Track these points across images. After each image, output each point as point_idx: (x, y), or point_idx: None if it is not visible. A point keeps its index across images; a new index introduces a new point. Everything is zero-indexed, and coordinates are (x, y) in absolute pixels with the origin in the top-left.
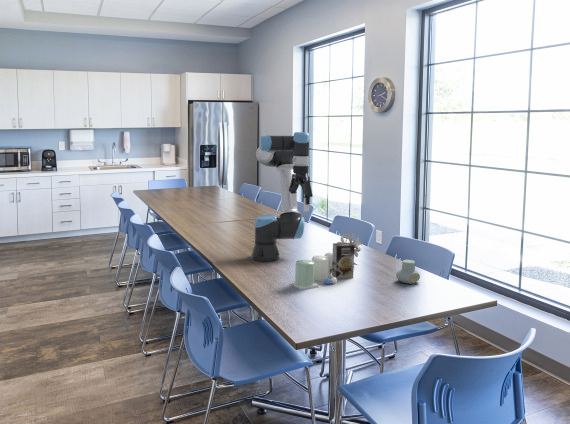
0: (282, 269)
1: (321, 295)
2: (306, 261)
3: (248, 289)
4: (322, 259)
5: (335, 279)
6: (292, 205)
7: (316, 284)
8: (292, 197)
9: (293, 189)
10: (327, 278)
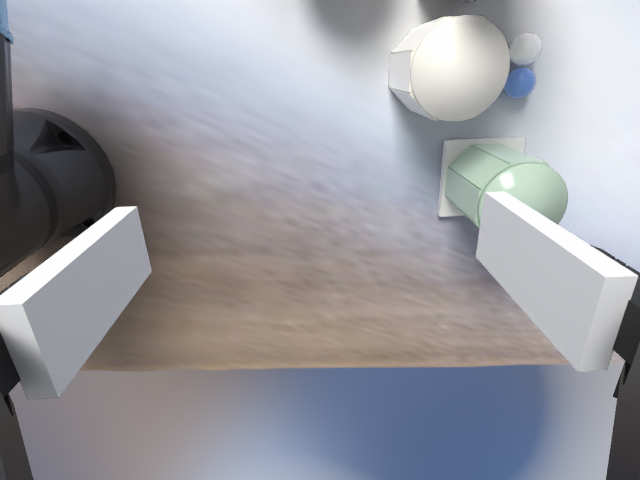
0: (247, 173)
1: (600, 169)
2: (518, 198)
3: (421, 350)
4: (493, 80)
5: (541, 47)
6: (144, 270)
7: (516, 143)
8: (91, 338)
9: (27, 469)
10: (529, 87)
